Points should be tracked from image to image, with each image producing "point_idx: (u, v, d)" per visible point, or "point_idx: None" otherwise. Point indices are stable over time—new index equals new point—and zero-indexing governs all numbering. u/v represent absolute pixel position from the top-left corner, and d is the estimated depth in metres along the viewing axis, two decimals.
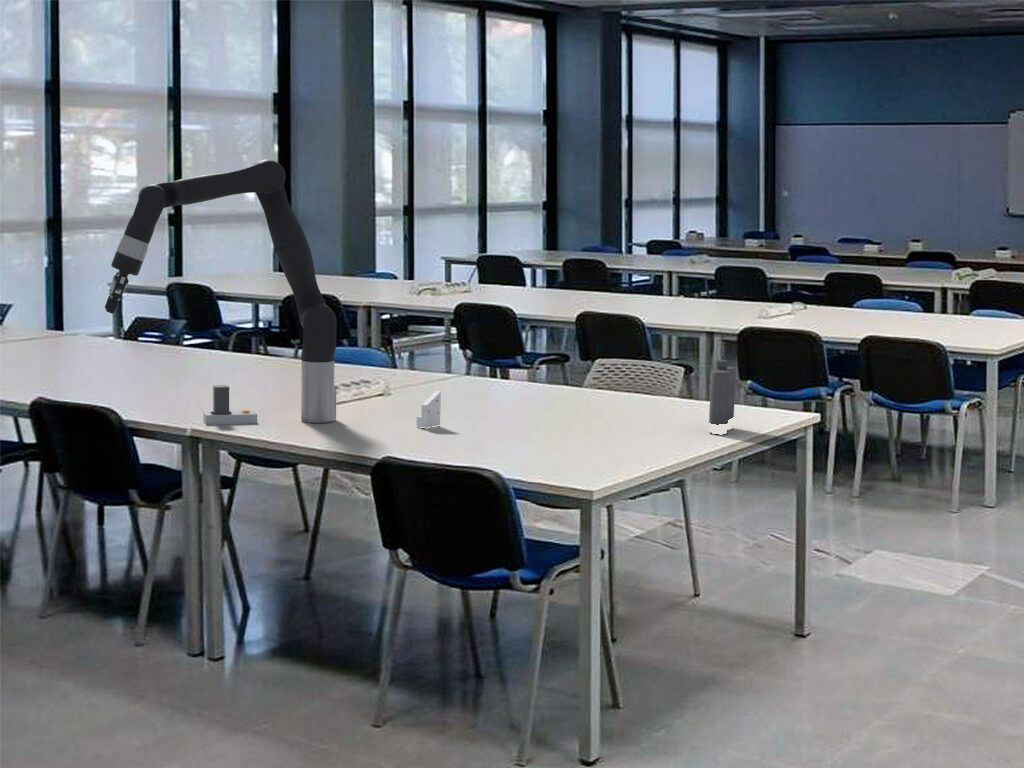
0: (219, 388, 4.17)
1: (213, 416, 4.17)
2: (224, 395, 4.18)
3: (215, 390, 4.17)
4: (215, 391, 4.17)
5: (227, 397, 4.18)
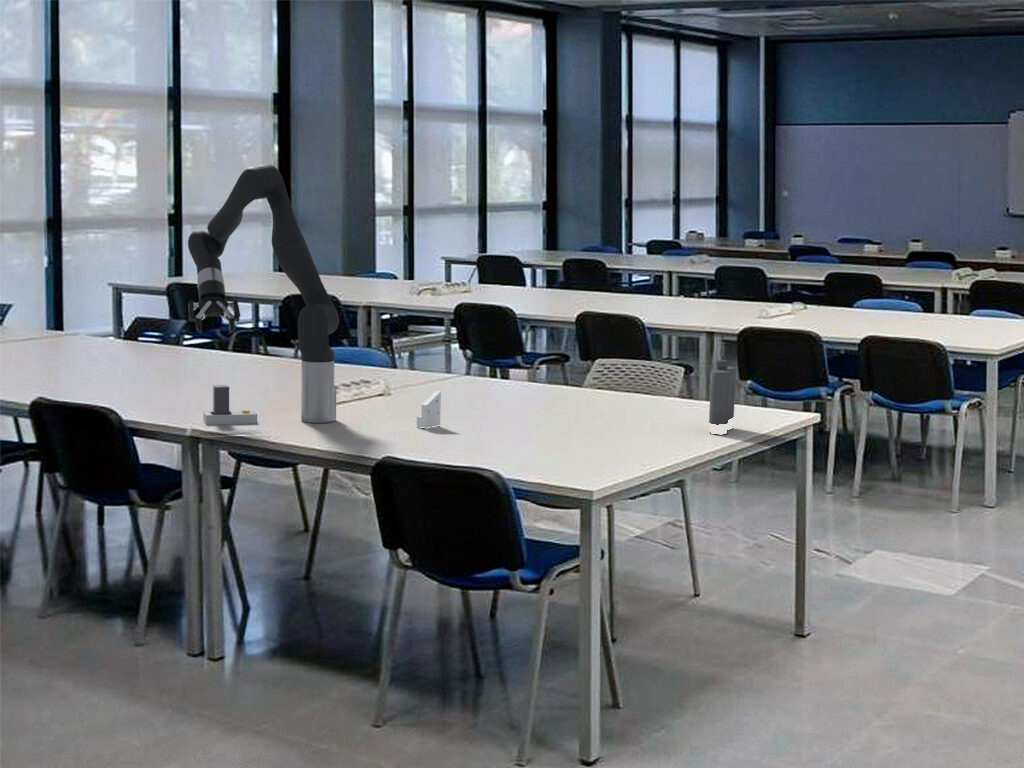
0: (219, 388, 4.17)
1: (213, 416, 4.17)
2: (224, 395, 4.18)
3: (215, 390, 4.17)
4: (215, 391, 4.17)
5: (227, 397, 4.18)
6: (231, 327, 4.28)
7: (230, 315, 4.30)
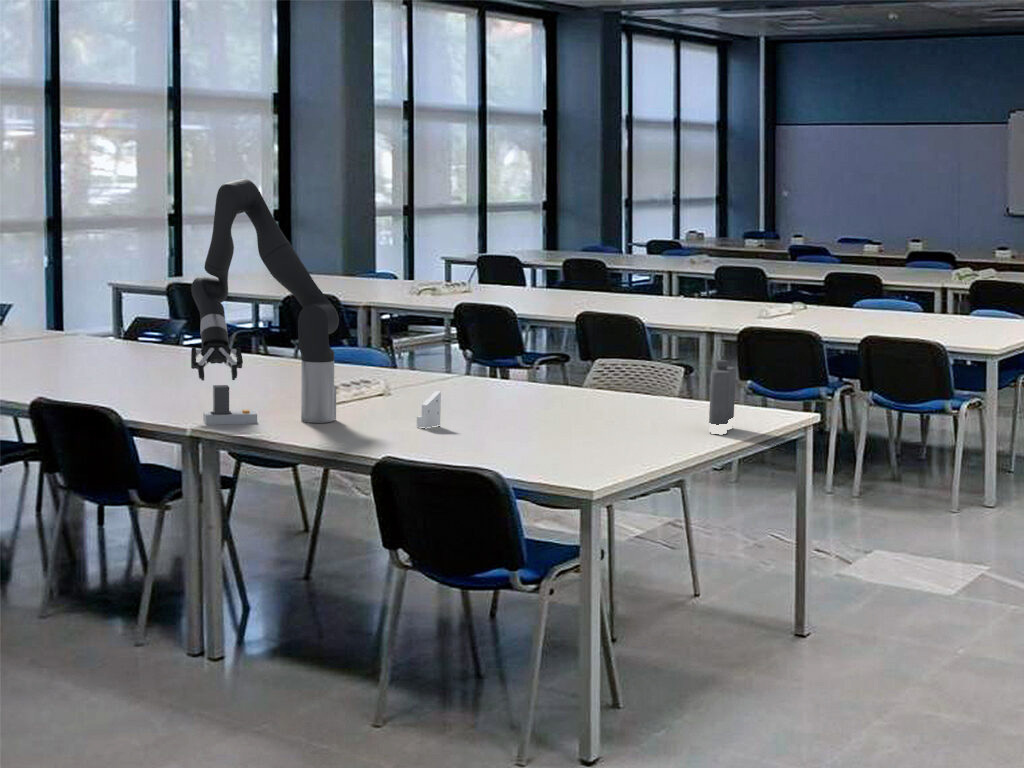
0: (219, 388, 4.17)
1: (213, 416, 4.17)
2: (224, 395, 4.18)
3: (215, 390, 4.17)
4: (215, 391, 4.17)
5: (227, 397, 4.18)
6: (233, 374, 4.26)
7: (233, 362, 4.29)
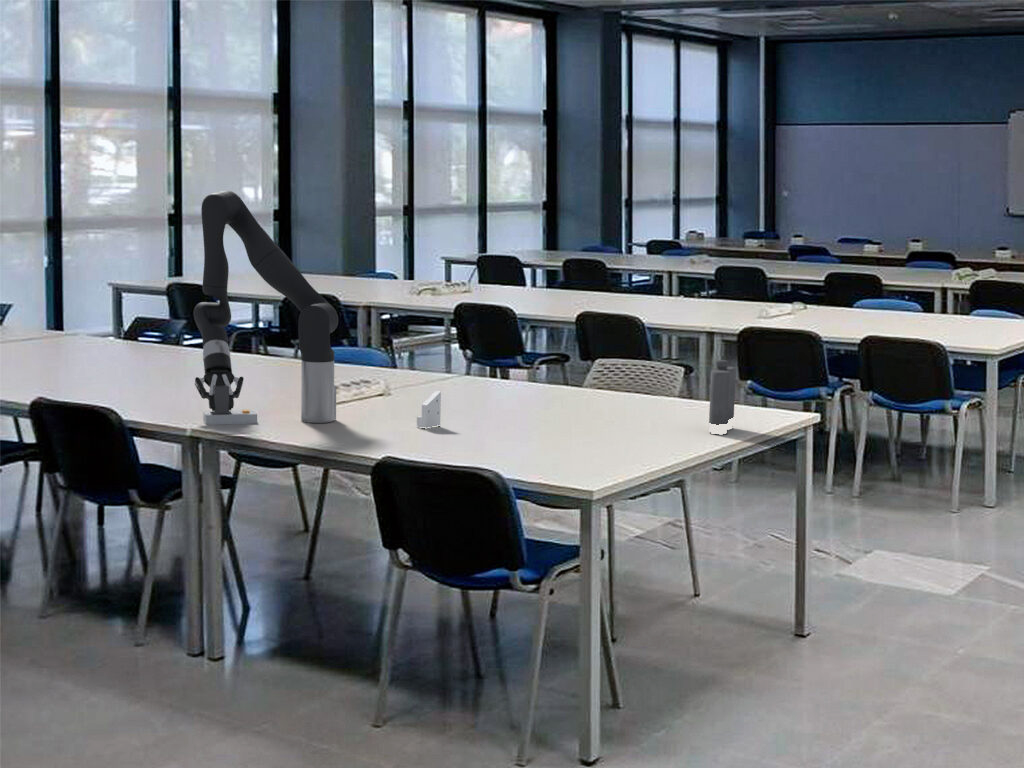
0: (219, 388, 4.17)
1: (213, 416, 4.17)
2: (224, 395, 4.18)
3: (215, 390, 4.17)
4: (215, 391, 4.17)
5: (227, 397, 4.18)
6: (230, 404, 4.19)
7: (229, 392, 4.21)
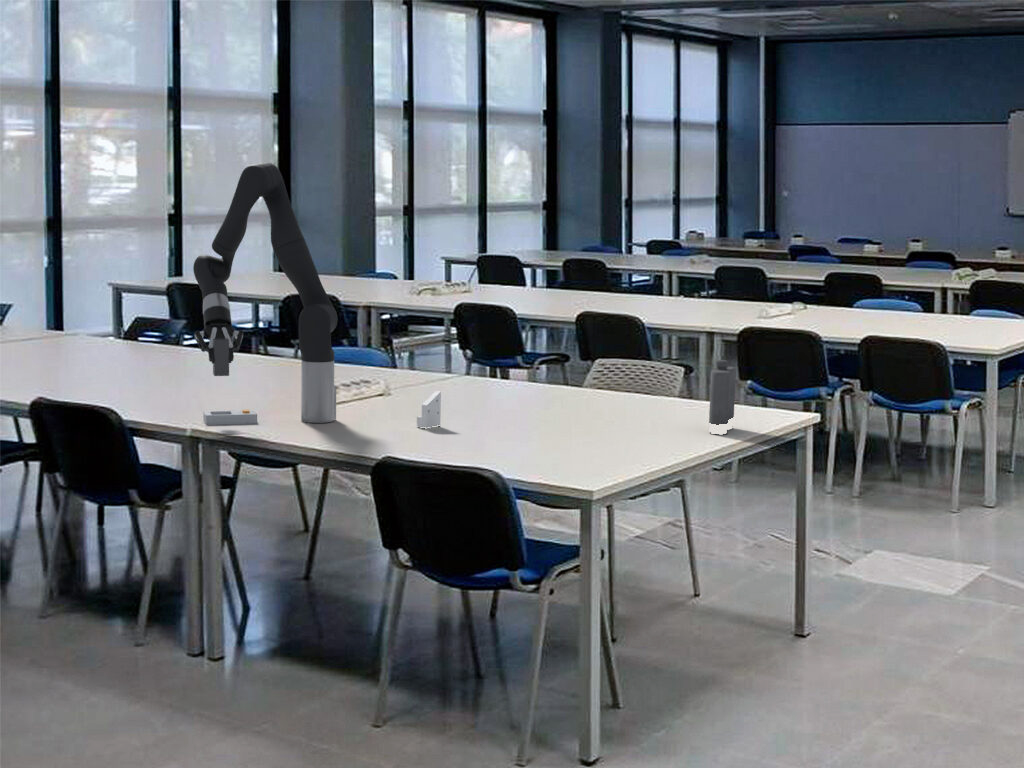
0: (219, 341, 4.16)
1: (213, 416, 4.17)
2: (224, 348, 4.16)
3: (215, 343, 4.15)
4: (215, 344, 4.16)
5: (227, 350, 4.17)
6: (230, 357, 4.17)
7: (229, 345, 4.19)
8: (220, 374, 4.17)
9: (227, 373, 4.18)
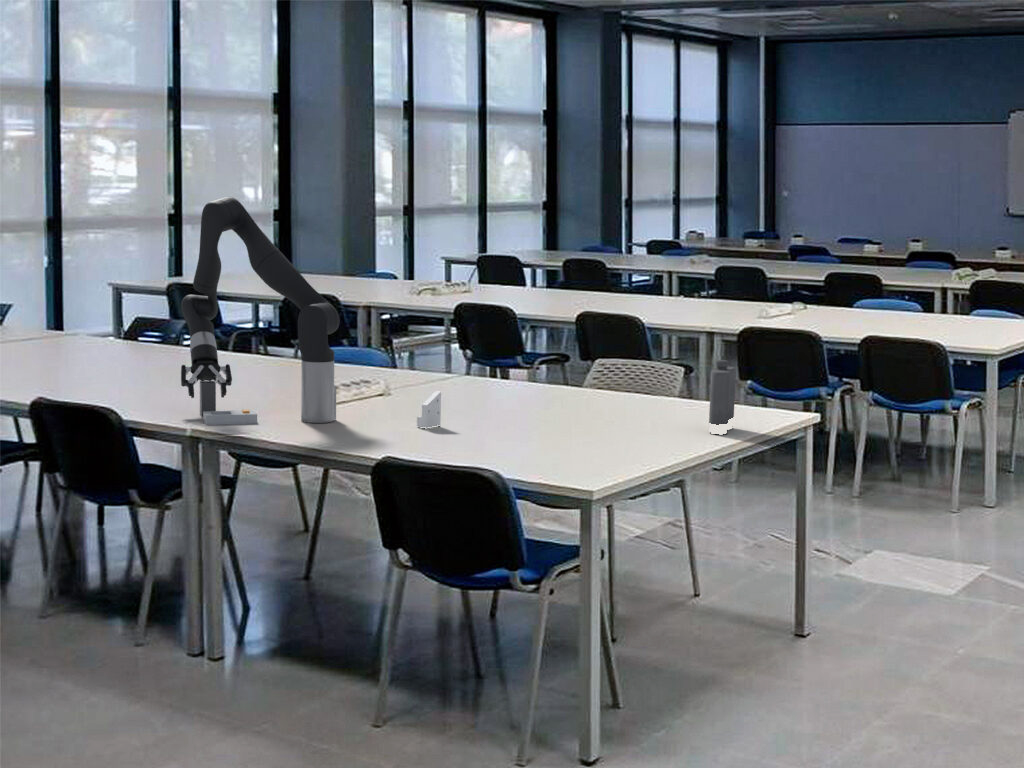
0: (206, 384, 4.29)
1: (213, 416, 4.17)
2: (210, 391, 4.29)
3: (202, 386, 4.28)
4: (202, 387, 4.28)
5: (214, 393, 4.30)
6: (223, 392, 4.30)
7: (222, 379, 4.33)
8: None
9: None
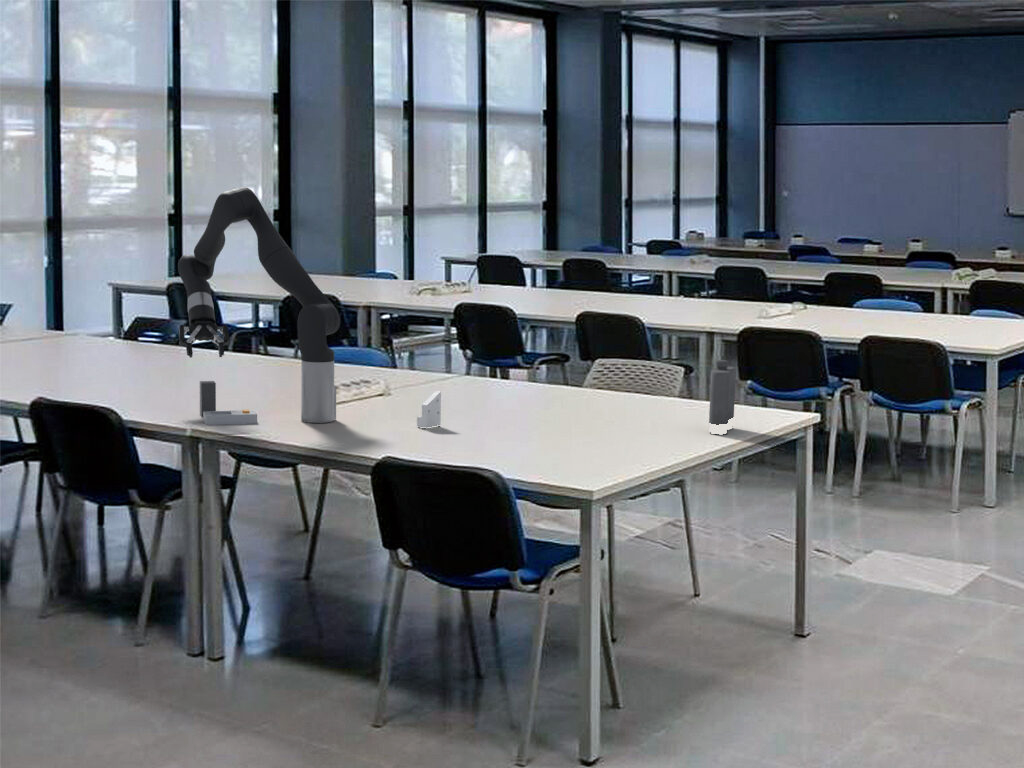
0: (206, 384, 4.29)
1: (213, 416, 4.17)
2: (210, 391, 4.29)
3: (202, 386, 4.28)
4: (202, 387, 4.28)
5: (214, 393, 4.30)
6: (221, 351, 4.39)
7: (220, 339, 4.41)
8: None
9: None
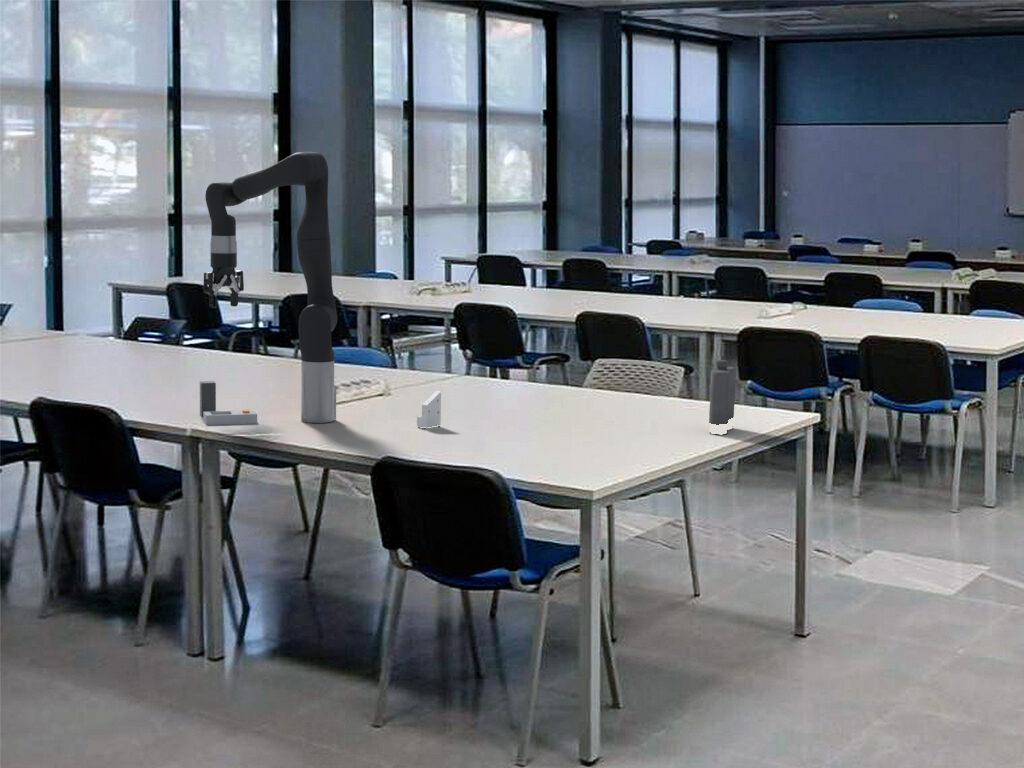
0: (206, 384, 4.29)
1: (213, 416, 4.17)
2: (210, 391, 4.29)
3: (202, 386, 4.28)
4: (202, 387, 4.28)
5: (214, 393, 4.30)
6: (236, 304, 4.45)
7: (237, 290, 4.44)
8: None
9: None
